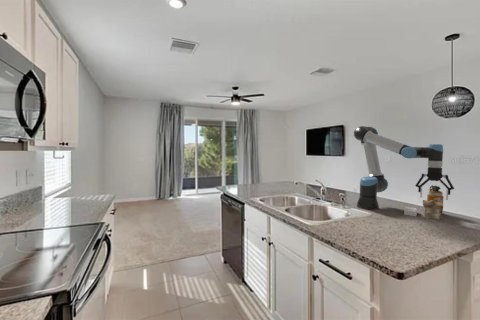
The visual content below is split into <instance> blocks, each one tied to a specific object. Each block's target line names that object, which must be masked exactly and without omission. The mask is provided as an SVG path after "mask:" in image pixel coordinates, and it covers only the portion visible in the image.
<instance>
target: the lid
mask: <svg viewBox="0 0 480 320" xmlns="http://www.w3.org/2000/svg"><path fill="white" fill-rule="evenodd" d="M422 206H423V208H424V207H426V208H434V209H442V210H443V211H444V204H443V205H442V203H441V202H435V201H434V200H430V201H427V199H426V200H423V199H422Z"/></svg>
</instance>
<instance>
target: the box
mask: <svg viewBox="0 0 480 320" xmlns="http://www.w3.org/2000/svg"><path fill="white" fill-rule="evenodd" d="M423 208H424V209H423V215H424V218H427V219H434V220H441V215H442V214H441V209H434V208H426V207H423Z"/></svg>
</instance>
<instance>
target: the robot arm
mask: <svg viewBox="0 0 480 320" xmlns="http://www.w3.org/2000/svg"><path fill="white" fill-rule="evenodd" d="M353 137H354V138H355V139H356V140H357V141H360V144H361V145H362V146H363V149H364V154H365V160H366V165H367V170H368V175H367V176H363V177H361V178H360V181H359V197H358V199H357V201H356V207H357V208H359V209H363V210H370V211H372V210H373V211H375V210H376V211H377V210H379V207H380V204H379V202H378V199H377V197H378V196H377V194H378V193H382V192H385V191H386V190H387V189H388V187H389V182H388V180H387V179H386V178H385V175H384V174H383V172H382V171H381V166H380V159H379V155H378V151H377V150H378V149H377V147H380V148H382V149H385V150H387V151H390V152H393V153H396V154H398V155H400V156H402V158H406V159H427V160H428V161H427V166H428V167H427V173H421V176H420V178H419V179H418V181H417V182H416V184H415V187H417V188H418V191H417V192H418V193H419V194H420V197H419V198H423V188H422V187H423V186H424V185H426V184H427V183H428V182H429V181H431V182H440V183H441V184H442V186H444V187H445V188H446V189H445V200H446V201H448V200H449V196H450V195H451V191H452V190H455V188H454V185H453V184H452V182H451V180H450V179H449V175H448V174H443V158H444V157H443V154H444V145H443V144H441V143H440V144H439V143H438V144H437V143H435V144H432V143H430V144H429V145H428V146H425V147H422V146H421V147H420V146H419V147H418V146H410V145H408V144H406V143H405V144H404V143H402V142H399V141H396V140H395V139H394V140H393V139H390V138H388V137H385V136H382V135H379V132H378V130H377V129H376V128H374V127H372V126H363V125H362V126H361V125H360V126H358V127H356V128H355V130H354V131H353ZM425 177H427V178H426V179H425V180H424V178H425ZM442 178H444V179H445V180H446V182H447V183H448V185H449V186H448V185H447V184H446V183H445V182H444V180H442ZM422 180H424V181H423V182H422ZM421 182H422V183H421Z"/></svg>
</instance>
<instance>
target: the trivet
mask: <svg viewBox="0 0 480 320" xmlns="http://www.w3.org/2000/svg"><path fill="white" fill-rule="evenodd" d="M403 215H405V216H411V217H417V215H418V213H417V208H416V207H410V206H404V210H403Z"/></svg>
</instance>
